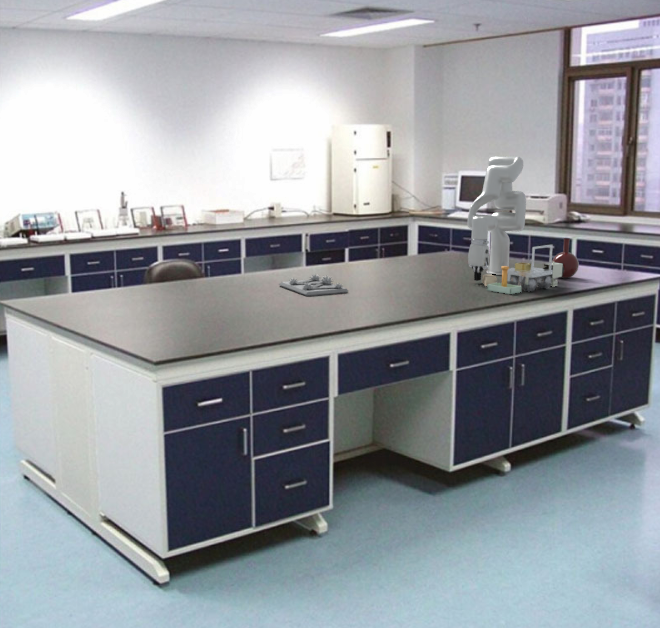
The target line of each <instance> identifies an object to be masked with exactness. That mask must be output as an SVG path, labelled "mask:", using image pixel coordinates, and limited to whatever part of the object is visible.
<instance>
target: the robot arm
mask: <svg viewBox="0 0 660 628" xmlns="http://www.w3.org/2000/svg"><path fill="white" fill-rule="evenodd" d="M487 164H488V167H487V169H486V172H485V175H484V180H483V181H484V182H483V186H482V187H483V188H482V191H481V194H480V195H479V196H477V197H476V199H475V200H474V201H473V202H472V203H471V204H470V207H469V209H468V216H467V220H466V221H467V222H466V223H467V228H468V229H470V230H471V238H470V239H471V241H470V243H471V244H470V245H469V249H468V255H467V261H468V262H467V263H468V267H469V268H471V269H472V271H473V280H474V281H482V272H483V271H484V270H486V274H487V275H492V274H496V275H495V276H502V269H501V266H508V267H509V264H510V262H509V261H510V245H511V244H510V243H511V241H510V237H509V235H508V233H507V232H515V233H517V232H519V233H520V232H522V231H523V230H524V228H525V224H526V211H527V197H526V194H525V192H523V191H519V190H513V183H514V182H515V181H516V180H517V179H518V178H519V176H520V174H521V173H522V171H523V168H524V160H523V159H522V157H520V156H514V155H513V156H511V155H510V156H507V155H494V156H491V157H490V158H489V159H488V162H487ZM491 202H494V203H493V204H494V207H495V208H496V209H498V210H505V211H496V212H493V213H492V214H477V213H478V211H479V209H480V208H481V207H482V206H485V205H486V204H489V203H491ZM508 210H510V211H514V212H507V211H508ZM488 232H490V242H489V241H488V234H489V233H488ZM489 243H490V247H489V245H488V244H489ZM509 268H510V267H509Z"/></svg>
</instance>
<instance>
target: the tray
mask: <svg viewBox="0 0 660 628" xmlns="http://www.w3.org/2000/svg"><path fill="white" fill-rule="evenodd" d="M522 290H523V288H522V286H521V285H511V284H507V287H502V282H499V281H498V282H497V283H492V284H487V287H486V291H487V292H491V291H493V293H497V292H499V293H498V294H503V293H505V295H509V294H512V295H516V294H515V293H517V294H521V293H522ZM520 292H521V293H520Z"/></svg>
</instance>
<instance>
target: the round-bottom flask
mask: <svg viewBox="0 0 660 628" xmlns="http://www.w3.org/2000/svg"><path fill="white" fill-rule="evenodd" d="M570 240H571V238H568V237H565V238H564V237H563V251H562V252H558V253H556V255H555V256H554V257H552V263H553V261H554V262H555V263H562V264H563V267H564V272H563V276H562V277H559V278H560V279H569V278H572V277H573V276H575V275H576V274H577V272H578V270H579V264H580V263H579V260H578V258H577V256H576V255H575V254H573V253H572V252H569V250H570V249H569V248H570Z"/></svg>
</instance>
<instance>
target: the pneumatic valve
mask: <svg viewBox="0 0 660 628" xmlns="http://www.w3.org/2000/svg"><path fill="white" fill-rule="evenodd" d="M542 269H549V263H544V264H543V267H542ZM551 270H553V273H552V274H551V275H549V276H550V277H551V280H552V283H551V286H552V287H551V288H556V287H555V286H557V287H558V282H559V281H558V278H560V277H562V276H563V272H564V267H563V264H562V263H555V262H554V261H553V263H552V265H551Z"/></svg>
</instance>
